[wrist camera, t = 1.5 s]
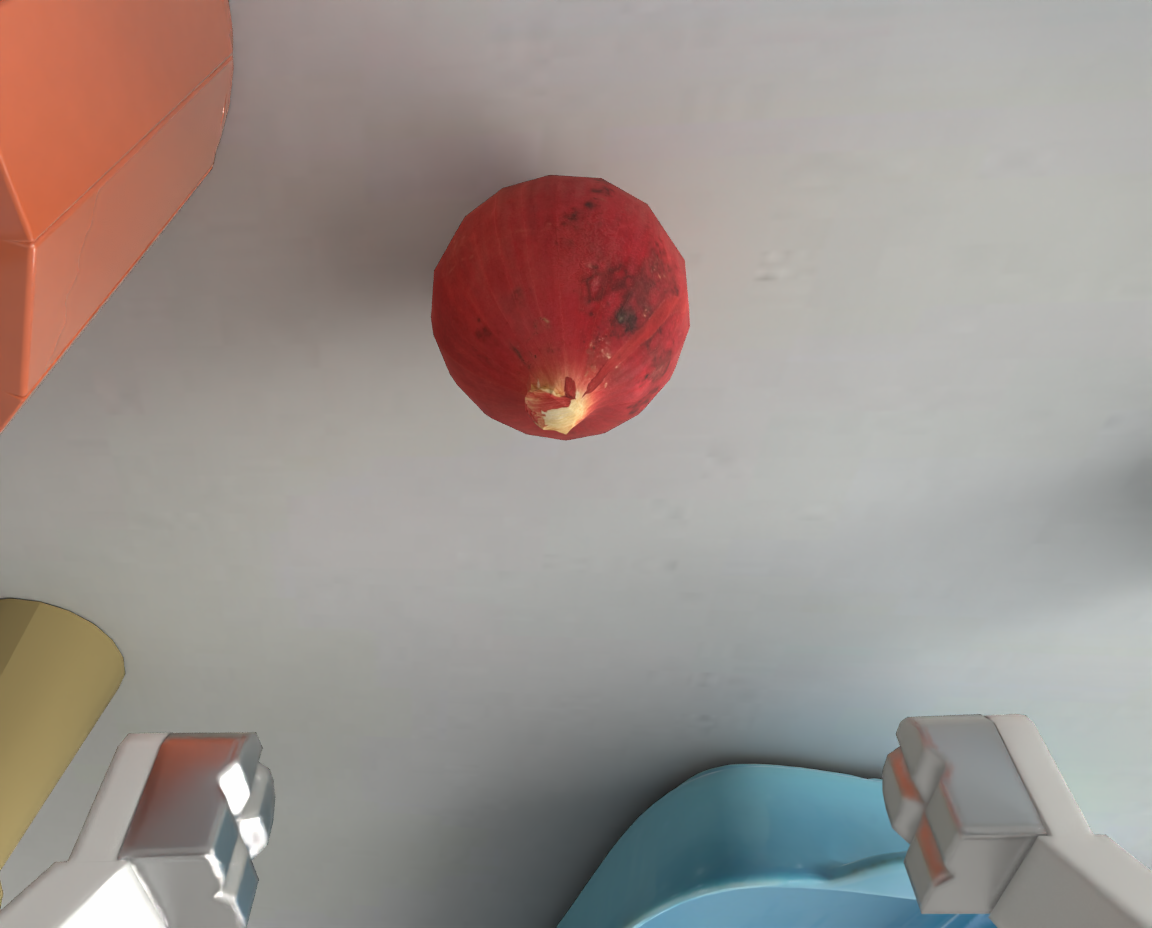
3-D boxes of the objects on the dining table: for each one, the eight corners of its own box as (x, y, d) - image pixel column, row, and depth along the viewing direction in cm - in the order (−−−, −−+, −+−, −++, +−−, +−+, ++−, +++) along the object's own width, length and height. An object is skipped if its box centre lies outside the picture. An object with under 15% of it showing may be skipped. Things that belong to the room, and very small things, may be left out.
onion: (585, 77, 21) (606, 213, 14) (709, 261, 24) (773, 439, 17) (400, 220, 23) (347, 392, 16) (536, 373, 26) (536, 568, 19)
